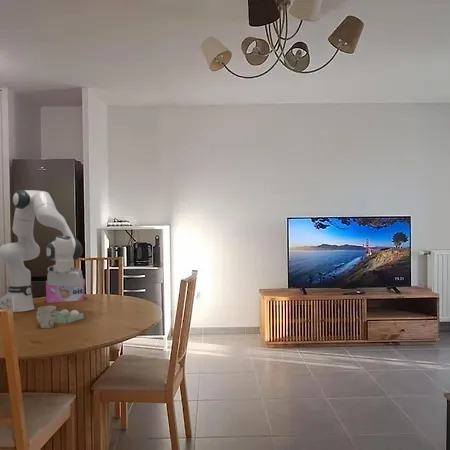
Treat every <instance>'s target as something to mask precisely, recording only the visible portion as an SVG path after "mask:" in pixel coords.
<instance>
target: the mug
mask: <svg viewBox="0 0 450 450" xmlns="http://www.w3.org/2000/svg"><path fill="white" fill-rule="evenodd" d="M56 309H57V306H56V305H45V306H39V307H37V311H36V314H35V317H36V321H37V320H38V321H37V322H38V323H39V326H40V328H41V329H51V328H54V327H55V323H56V322H55V312H56V311H57V310H56ZM38 315H39V318H38Z"/></svg>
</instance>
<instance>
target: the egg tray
mask: <svg viewBox="0 0 450 450" xmlns="http://www.w3.org/2000/svg"><path fill="white" fill-rule="evenodd" d="M61 311H62V310H61ZM61 311H59V310H58V311H57V310H56V312H55V322H54V323H57V324H58V323H60V324H70V323H73V322H76V321H79V320H83V319H85V313H83V312H79V315H76V316H74V315H70V312H71V311H69V314H66V315H62V314H60V312H61ZM38 318H39V314H38ZM36 321H37V322H38V320H37V319H36Z"/></svg>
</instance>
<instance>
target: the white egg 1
mask: <svg viewBox="0 0 450 450" xmlns="http://www.w3.org/2000/svg"><path fill="white" fill-rule="evenodd" d="M69 312H70V311H69V310H68V309H66V308H65V309H62V310H61V312H60V314H62V315H66V314H69Z"/></svg>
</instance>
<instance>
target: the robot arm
mask: <svg viewBox="0 0 450 450" xmlns="http://www.w3.org/2000/svg"><path fill="white" fill-rule="evenodd" d="M12 204H13V206H14V207H15V209H14V210H15V211H14V216H13V221H12V228H11V229H12V232H13V234H14V235H16V236H17V242H9V243H5V244H3V245H1V246H0V261H1V262H3V263H4V264H5V265H6V267H7V269H8V272H9V279H10V282H9V283H10V285H9V286H7V287H6V290H8V291H7V293H5V295H4V296H2V297H1V298H0V307H1V308H11V309H12V310H13V312H12V313H19V312H27V311H28V312H29V311H33V310H35V309H36V308H35V305H34V301H33V292H32V291H33V284H32V275H31V270H30V269H29V268H27V267H26V265H25V263H24V262H25V261H31V260H33V259H36V258H38V257H39V256H40V253H41V248H40V246H39V244H38V243H37V242H36V241H35V237H34V225H35V217H36V220H37V221H38V223H40V225H43V226H45V227H48V228H53V229H56V230H58V231H60V232H61V233H62V235H61V234H60V235H57V236H56V237H55V240H53V241H52V242H49V243H48V244H47V245H46V247H45V255H46V257H47V259H49V260H50V261H55V264H53V265H51V266H49V267H47V277H46V280H47V283H48V285H49V286H57V290H58V291H59V295H61V291H62V290H61V287H62V286H68V287H70V292H68V295H70V296H71V295H73V290H74V288H75V287H81V286H83V278H84V276H83V271H82V269H80V268H79V267H77V268H76V267H75V262H74V261H75V260H77V261H78V259H79V258H80V257H81V256H82V255H83V252H84V250H83V249H84V248H83V246H82V243H81V242H80V241H79V240H78V239H77V236H76V234H75V232H74V231H73V228H72V227H71V224H70V223H69V222H68V220H67V218H66V217H65V216H63V215H62V214H61V213H60V212H59V211H58V209H57V208H56V204H55V199H54V195H53V194H52V193H51V192H50V191H45V190H35V189H34V190H33V189H31V190H30V189H29V190H28V189H25V190H24V189H19V190H16V191H15V192H14V193H13V195H12Z"/></svg>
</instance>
